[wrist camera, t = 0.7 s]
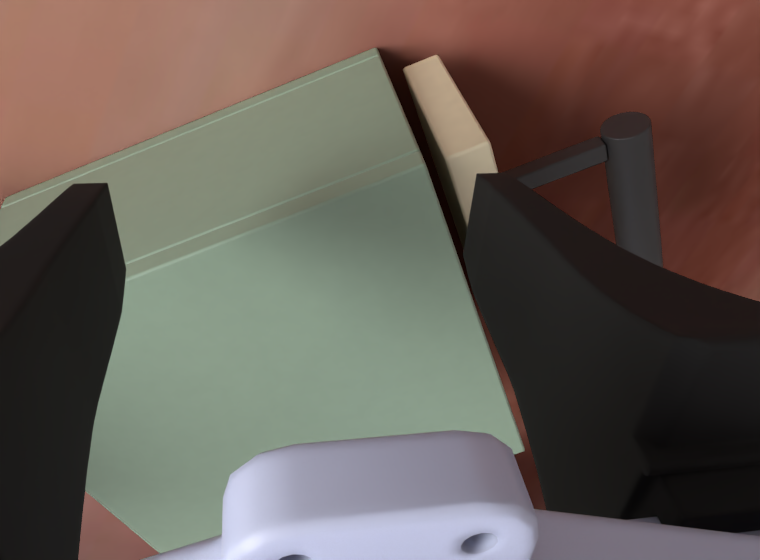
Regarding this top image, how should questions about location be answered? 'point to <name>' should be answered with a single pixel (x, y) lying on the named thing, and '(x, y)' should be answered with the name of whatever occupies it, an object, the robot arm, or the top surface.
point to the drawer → (475, 155)
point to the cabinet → (275, 297)
